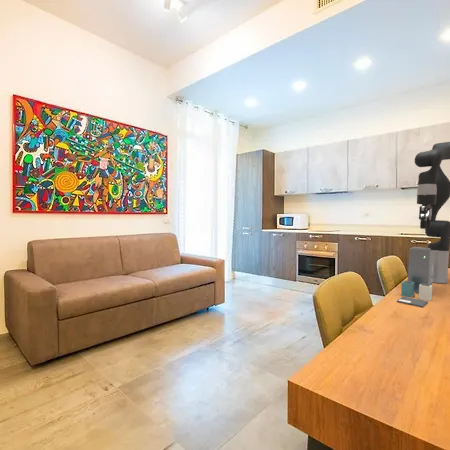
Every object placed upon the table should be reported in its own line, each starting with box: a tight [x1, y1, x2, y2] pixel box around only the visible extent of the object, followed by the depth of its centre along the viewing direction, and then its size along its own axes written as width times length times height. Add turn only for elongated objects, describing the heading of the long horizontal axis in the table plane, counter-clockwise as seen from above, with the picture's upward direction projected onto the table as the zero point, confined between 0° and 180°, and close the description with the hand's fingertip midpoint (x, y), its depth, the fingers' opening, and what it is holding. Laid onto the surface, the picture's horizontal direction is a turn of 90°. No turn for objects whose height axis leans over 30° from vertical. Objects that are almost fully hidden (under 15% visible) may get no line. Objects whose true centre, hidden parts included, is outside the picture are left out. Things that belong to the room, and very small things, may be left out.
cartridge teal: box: [400, 280, 415, 298], centre depth 128 cm, size 4×4×6 cm
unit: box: [407, 246, 433, 294], centre depth 134 cm, size 7×8×21 cm
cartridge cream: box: [417, 283, 433, 302], centre depth 123 cm, size 4×4×6 cm
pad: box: [396, 296, 429, 308], centre depth 118 cm, size 9×9×1 cm
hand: (425, 228), depth 137 cm, fingers open, 8 cm apart
